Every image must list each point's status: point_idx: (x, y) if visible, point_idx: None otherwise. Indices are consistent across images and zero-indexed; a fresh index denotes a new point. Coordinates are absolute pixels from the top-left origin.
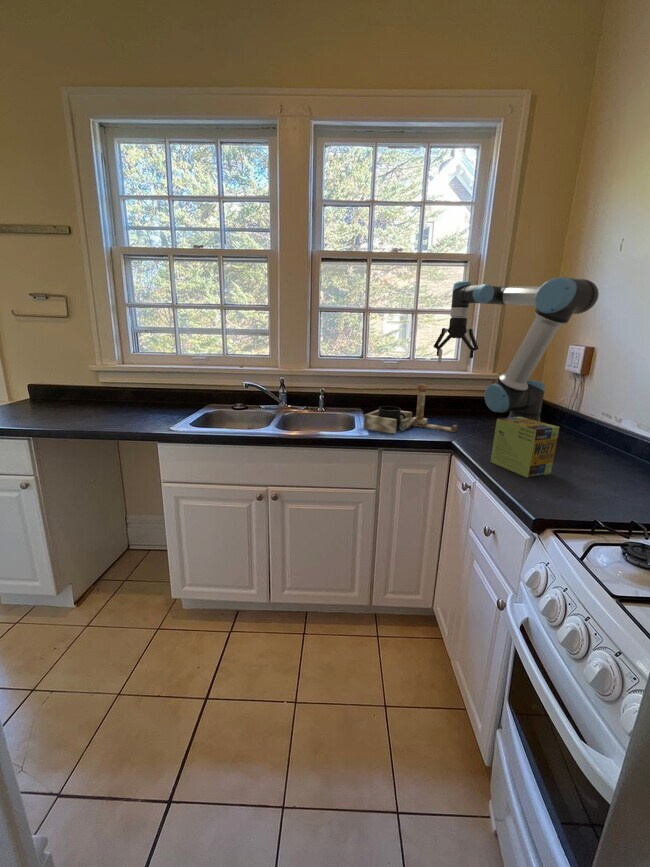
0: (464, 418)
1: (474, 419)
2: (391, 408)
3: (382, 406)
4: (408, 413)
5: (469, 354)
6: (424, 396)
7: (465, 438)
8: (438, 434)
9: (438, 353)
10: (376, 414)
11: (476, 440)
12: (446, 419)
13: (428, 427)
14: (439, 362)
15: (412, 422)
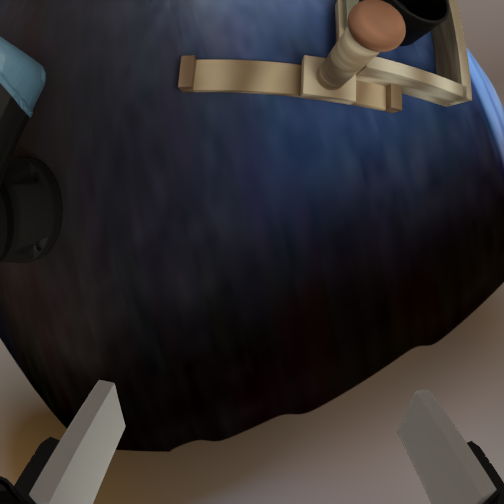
0: (203, 304)
1: (168, 308)
2: (425, 22)
3: (447, 11)
4: (374, 57)
5: (48, 464)
6: (343, 34)
7: (144, 27)
8: (228, 16)
9: (472, 464)
10: (450, 34)
11: (115, 30)
12: (259, 247)
13: (281, 64)
14: (417, 399)
15: (337, 40)
